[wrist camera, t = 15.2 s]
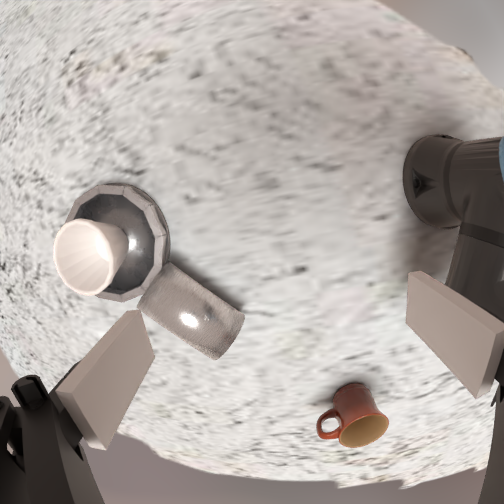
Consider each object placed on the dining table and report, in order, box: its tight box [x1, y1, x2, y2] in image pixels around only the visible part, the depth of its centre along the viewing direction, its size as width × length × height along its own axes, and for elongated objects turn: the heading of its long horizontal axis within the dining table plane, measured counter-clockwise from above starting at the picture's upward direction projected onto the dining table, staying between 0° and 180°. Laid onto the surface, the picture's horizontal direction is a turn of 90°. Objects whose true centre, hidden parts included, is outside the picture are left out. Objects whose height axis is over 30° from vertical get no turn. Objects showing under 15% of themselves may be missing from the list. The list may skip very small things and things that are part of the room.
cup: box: [53, 218, 129, 296], centre depth 36 cm, size 10×10×9 cm
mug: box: [316, 383, 389, 448], centre depth 43 cm, size 12×9×10 cm
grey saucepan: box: [65, 183, 245, 360], centre depth 39 cm, size 31×18×8 cm, turn 53°
